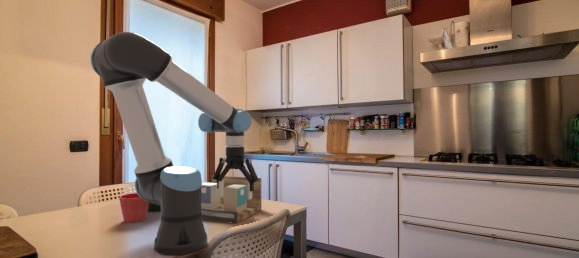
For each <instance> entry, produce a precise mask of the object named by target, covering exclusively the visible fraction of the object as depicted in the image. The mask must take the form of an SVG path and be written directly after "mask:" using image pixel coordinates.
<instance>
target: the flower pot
mask: <svg viewBox="0 0 579 258" xmlns="http://www.w3.org/2000/svg"><path fill="white" fill-rule="evenodd" d="M118 200H119V203H120V208H121V209H120V210H121V214H122V218H123V219H122V220H123V222H125V223H138V222H142V221H145V220H146V219H147V215H148V211H147V210H148V205H149V202H147V201H145V200H143V199H142V198H141V197H140V196H139V195H138V194H137V192H133V193H126V194H123V195H120V196H119V198H118Z"/></svg>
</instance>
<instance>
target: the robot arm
mask: <svg viewBox="0 0 579 258" xmlns="http://www.w3.org/2000/svg"><path fill="white" fill-rule="evenodd" d="M90 64H91V67H92V69H93V71H94V72H95V74H97V75H98V76H99V77H100V78H101V80H102V83H103V86H104V88H105V89H107V90H109V91H110V92H112V95H113V98H114V99H115V104H116V107H117V110H118V112H119V115H120V118H121V121H122V123H123V126H124V129H125V132H126V135H127V138H128V142H129V144H130V147H131V149H132V152H133V155H134V159H135V161H136V167H135V168H134V170H133V172H134V175H135V177H136V179H135V181H134V189H135V191H136V192H135V193H137V194H138V195H139V196H140V197H141V198H142V199H143V200H145V201H147V202H149V203H152V204H156V205H160V206H161V211H160V223H159V226H158V230H157V234H156V237H155V239H154V242H153V246H154V247H153V248H154V249H153V251H155V252H156V253H157V254H159V255H164V256H165V255H166V256H179V255H185V254H190V253H194V252H197V251H200V250H201V249H203V248H204V247H206V246H207V245H208V234H207V232H206V229H205V226H204V223H203V219H202V218H201V185H202V183H203V181H202V173H201V171H200V170H199V169H197V168H194V167H192V166H191V167H190V166H183V165H181V166H180V165H175V166H174V164H173V160H172V159H171V158H170V157H168V156H166V155H165V152H164V149H163V146H162V143H161V138H160V136H159V133H158V130H157V127H156V123H155V120H154V117H153V114H152V110H151V108H150V105H149V102H148V98H147V95H146V92H145V90H144V84H145V81H146V80H147V81H149V82H151V83H154V82H157V83H159V85H161V86H163V87H164V88H167V90H169V91H170V92H172V93H174V94H175V95H176V96H178V97H179V98H181V99H183V100H184V101H186V102H187V103H188V104H190V105H192V106H193V107H194V108H196V109H197V110H199V111H200V112H202V113H200V115H199V117H198V123H197V125H198V128H199V130H201V132H203V133H225V146H226V147H225V156H226V157H219V161H218V164H217V166H216V170H215V172H214V174H213V175H214V176H213V175H212V176H213V179H215V180H217V189H219V197H223V196H224V181H221V180H222V179H223V178H224V177H225V176H227V174H228V172H230V170H239V171H240V172H241V173H242V175H243V177H246V179H247V180H248V182H249V183H248V184H247V200H250V199H252V191H254V182H257V181H258V178H259V177H258V175H257V173H256V171H255V168H254V166H253V164H252V163H253V162H252V158H251V157H249V158H245V147H244V145H245V132H247V131H248V130H249V129H251V126H252V123H253V120H252V116H251V114H250V113H249V112H248V111H246V110H244V109H242V108H235V107H234V106H233V105H231V104H230V103H229V102H227V101H226V100H225V99H223V98H222V97H221V96H219V95H218V94H217V93H216V92H214V91H212V89H210V88H208V87H207V86H206V85H205V84H204V83H202V82H201V81H200V80H198V79H197V78H195V76H193V75H192V74H190V73H189V72H188V71H187V70H185V69H184V68H182V67H181V66H180V65H178V64H177V63H176V62H175V61H173V56H172V55H171V54H170V53H169V52H167V51H166V50H165V49H163V48H162V47H161V46H159V45H158V44H156V43H154V42H153V41H152V40H150V39H148V38H147V37H145V36H143V35H141V34H138V33H135V32H130V31H122V32H117V33H115V34H113V35H111V36H110V37H109V38H107V39H104V40H102V41H100V42H98V44H96V45H95V47H94V48H93V50H92V51H91V54H90ZM225 164H226V165H225ZM245 165H246V166H245Z"/></svg>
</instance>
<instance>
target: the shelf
mask: <svg viewBox="0 0 579 258" xmlns="http://www.w3.org/2000/svg"><path fill="white" fill-rule="evenodd" d="M213 176H214V174H213V175H212V182H211V183H217V180H215V179H213ZM221 181H224V187H227V186H230V185H234V184H236V185H246V208H247V209H245V210H243V211H241V212H239V213H238V212H232V211H224V196H223V197H220V207H217V208H215V209H205V208H201V218H202V220H206V221H213V220H214V222H221V223H222V222H223V223H229V222H232V224H238V223H240V222H242V221H244V220H245V219H247V218H249V217H251V216H253V215H255V214H257V213H258V212H260V211H262V178H261V177H258V181H257V182H254V191H252V199H250V200H247V184H248V183H249V182H248V180H247V179H246V177H245V176H233V175H232V176H231V175H225V177H224V178H223V179H222V180H221ZM254 213H255V214H254ZM252 214H253V215H252ZM243 219H244V220H243ZM241 220H242V221H241ZM239 221H240V222H239ZM237 222H238V223H237Z"/></svg>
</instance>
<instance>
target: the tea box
mask: <svg viewBox="0 0 579 258" xmlns="http://www.w3.org/2000/svg"><path fill="white" fill-rule="evenodd" d="M245 209H247V208H246V185H236V184H234V185H230V186H227V187H224V211H232V212H238V213H239V212H241V211H243V210H245Z"/></svg>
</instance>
